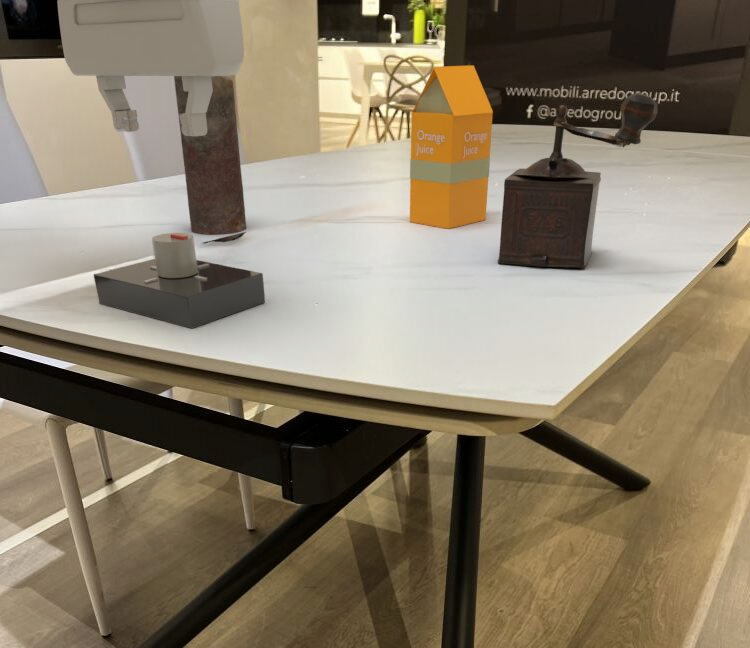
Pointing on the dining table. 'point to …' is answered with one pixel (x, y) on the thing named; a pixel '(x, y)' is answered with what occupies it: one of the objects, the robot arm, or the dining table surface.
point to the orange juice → (450, 149)
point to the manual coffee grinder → (561, 196)
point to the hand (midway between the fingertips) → (160, 133)
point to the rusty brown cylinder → (214, 165)
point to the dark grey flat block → (181, 292)
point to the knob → (175, 255)
